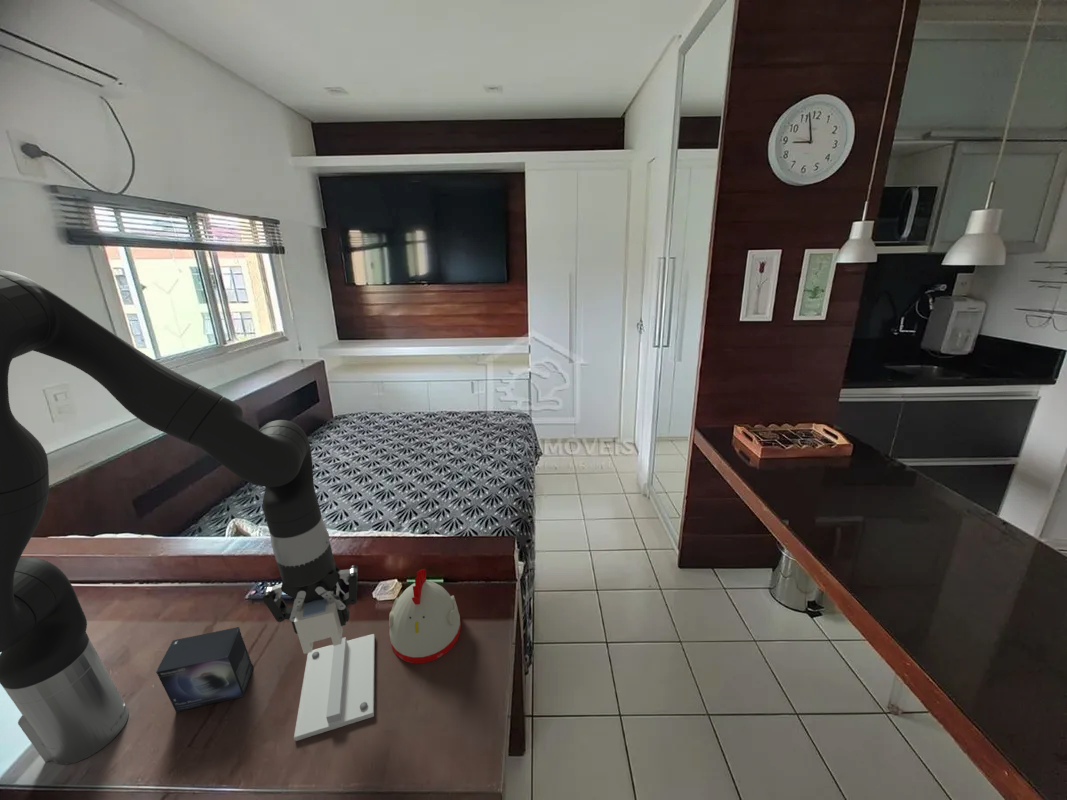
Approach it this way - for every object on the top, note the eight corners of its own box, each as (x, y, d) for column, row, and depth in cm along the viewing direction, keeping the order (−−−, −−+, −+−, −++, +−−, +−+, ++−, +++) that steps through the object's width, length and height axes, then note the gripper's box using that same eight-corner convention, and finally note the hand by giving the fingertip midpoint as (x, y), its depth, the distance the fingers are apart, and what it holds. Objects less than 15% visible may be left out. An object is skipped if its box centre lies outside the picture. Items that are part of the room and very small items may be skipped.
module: (303, 654, 70) (293, 620, 67) (310, 619, 76) (300, 587, 74) (341, 644, 72) (332, 610, 69) (344, 610, 78) (336, 579, 75)
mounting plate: (295, 741, 70) (291, 730, 69) (309, 654, 84) (306, 645, 83) (373, 716, 74) (371, 706, 73) (374, 637, 88) (372, 627, 87)
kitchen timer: (382, 664, 82) (370, 605, 77) (400, 605, 95) (390, 550, 90) (456, 661, 83) (449, 602, 77) (464, 603, 96) (459, 548, 90)
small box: (173, 716, 74) (152, 673, 70) (190, 680, 80) (171, 638, 76) (243, 698, 77) (227, 656, 73) (254, 665, 83) (239, 624, 79)
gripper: (242, 575, 62) (271, 659, 68) (351, 552, 66) (368, 633, 72) (255, 541, 69) (281, 620, 75) (353, 522, 73) (369, 598, 79)
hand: (324, 626), depth 74 cm, fingers closed on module, 5 cm apart
